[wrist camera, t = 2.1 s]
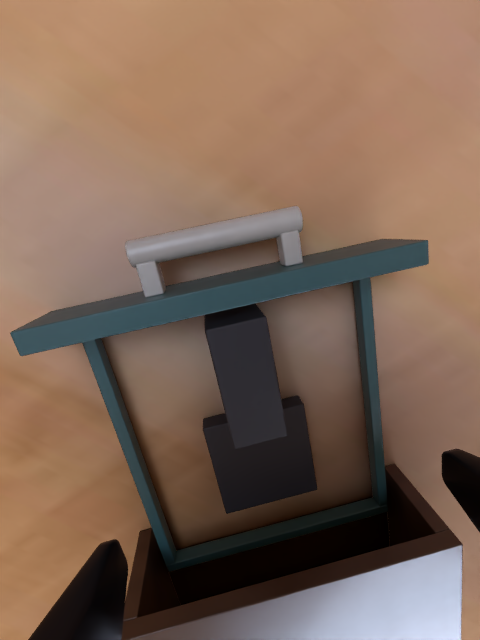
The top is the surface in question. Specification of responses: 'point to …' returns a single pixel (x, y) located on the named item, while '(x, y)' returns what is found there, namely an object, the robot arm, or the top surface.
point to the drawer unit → (320, 590)
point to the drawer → (220, 295)
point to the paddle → (254, 416)
